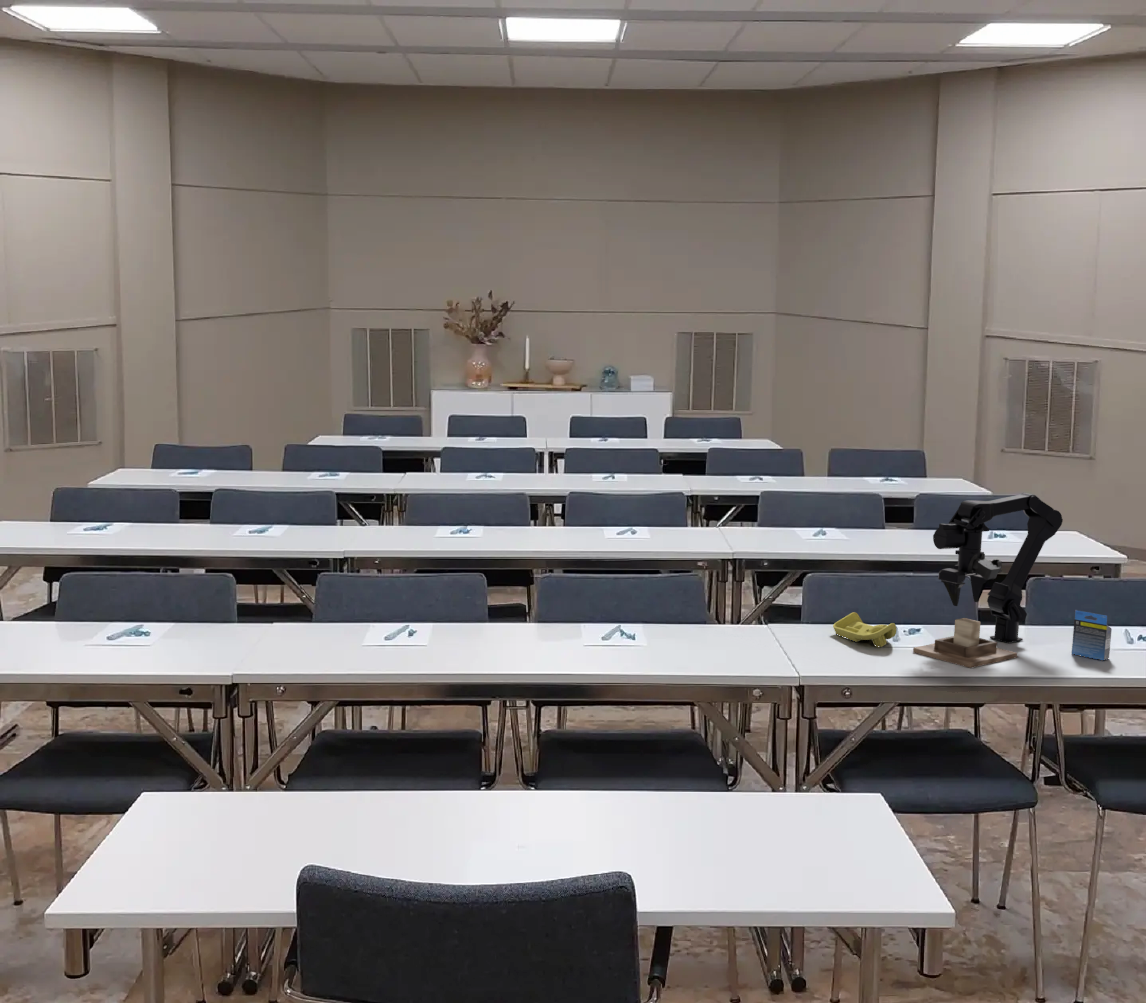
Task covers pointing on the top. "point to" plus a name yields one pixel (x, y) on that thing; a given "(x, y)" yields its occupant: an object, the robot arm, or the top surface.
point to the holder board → (965, 652)
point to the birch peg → (966, 632)
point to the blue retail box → (1091, 636)
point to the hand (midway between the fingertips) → (965, 604)
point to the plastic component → (864, 630)
